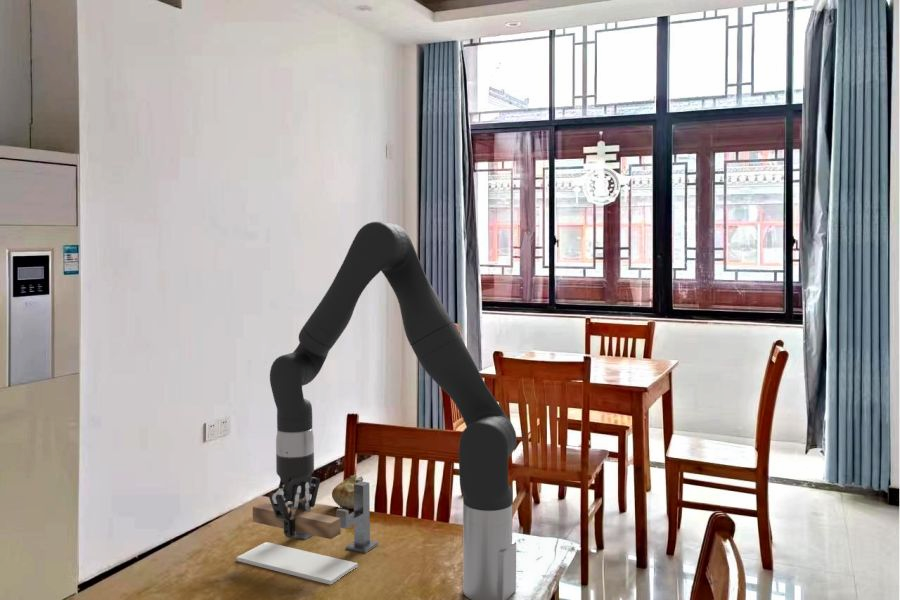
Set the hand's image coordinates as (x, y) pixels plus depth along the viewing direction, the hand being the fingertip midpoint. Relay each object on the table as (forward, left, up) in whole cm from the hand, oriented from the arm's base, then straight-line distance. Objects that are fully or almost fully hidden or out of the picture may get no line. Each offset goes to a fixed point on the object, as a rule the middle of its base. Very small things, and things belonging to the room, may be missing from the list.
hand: (296, 533), depth 152 cm
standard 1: (+9, -11, -6) cm, 16 cm away
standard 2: (-7, -11, -6) cm, 15 cm away
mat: (0, 0, -6) cm, 6 cm away
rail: (0, 0, +1) cm, 1 cm away
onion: (+10, -33, -7) cm, 35 cm away
